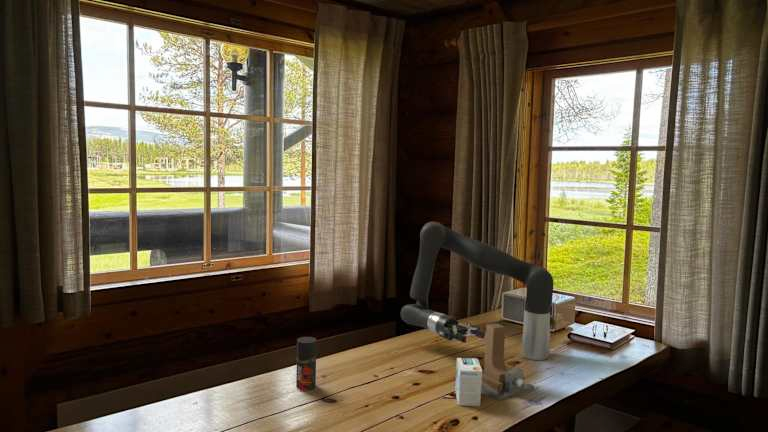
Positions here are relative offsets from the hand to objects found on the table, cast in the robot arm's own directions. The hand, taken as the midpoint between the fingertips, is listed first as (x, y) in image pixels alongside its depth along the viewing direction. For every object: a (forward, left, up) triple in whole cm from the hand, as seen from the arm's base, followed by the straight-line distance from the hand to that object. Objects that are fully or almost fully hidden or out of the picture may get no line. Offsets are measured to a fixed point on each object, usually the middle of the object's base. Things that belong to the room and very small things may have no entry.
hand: (474, 337), depth 185 cm
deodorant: (+53, -19, -13) cm, 58 cm away
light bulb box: (+15, +13, -13) cm, 24 cm away
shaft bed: (0, +12, -12) cm, 18 cm away
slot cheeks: (0, +11, -11) cm, 16 cm away
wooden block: (0, +11, -12) cm, 16 cm away
